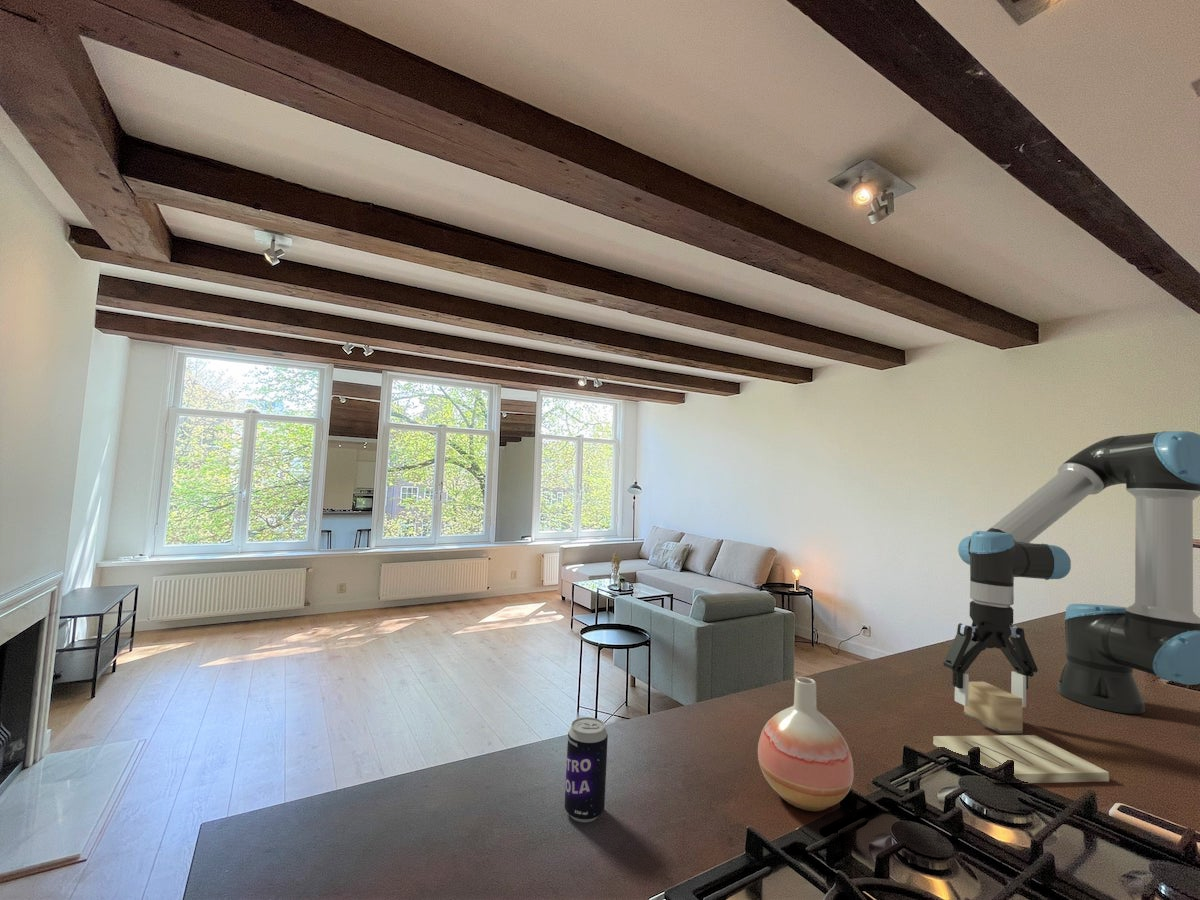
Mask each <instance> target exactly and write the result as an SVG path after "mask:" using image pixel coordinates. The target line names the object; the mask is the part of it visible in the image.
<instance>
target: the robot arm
mask: <svg viewBox="0 0 1200 900" xmlns="http://www.w3.org/2000/svg"><path fill="white" fill-rule="evenodd" d="M1121 484H1125V486H1126V487H1125V488H1126V491H1127V492H1128V493H1129V494H1131V495H1132V496H1133V497H1134V498H1135V529H1134V530H1135V541H1134V542H1135V543H1134V544H1135V547H1134V548H1135V549H1134V553H1135V560H1134V561H1135V563H1134V565H1135V567H1134V568H1135V570H1134V571H1135V574H1134V575H1135V576H1134V579H1135V581H1134V583H1135V584H1134V589H1135V591H1134V594H1135V595H1134V603H1133V604H1132V605H1129V606H1128V607H1125V606H1120V605H1117V606H1116V605H1105V604H1091V603H1090V604H1089V603H1071V604H1068V605H1067V606H1066V609H1065V617H1064V628H1065V630H1064V631H1065V633H1064V634H1065V650H1066V651H1065V652H1066V653H1065V655H1066V656H1065V657H1066V661H1065V665H1064V667H1063V668H1062V671H1061V674H1060V676H1059V679H1058V681H1057V693H1058V694H1060V695H1061V696H1063V697H1064V698H1067V699H1068V700H1071V701H1073V702H1077V703H1079V704H1082V705H1085V706H1089V707H1093V708H1095V709H1100V710H1104V711H1105V710H1106V711H1108V712H1109V711H1110V712H1115V713H1122V714H1130V715H1138V714H1139V715H1140V714H1144V713H1145V712H1146V707H1145V701H1144V698H1143V697H1142V694H1141V692H1140V688H1139V686H1138V684H1137V682H1136V680H1135V677H1134V671H1133V670H1137V671H1140V672H1143V673H1146V674H1149V675H1153V676H1155V677H1157V678H1160V679H1163V680H1165V681H1172V682H1175V683H1179V684H1182V685H1186V686H1187V685H1189V686H1190V685H1191V686H1193V685H1194V686H1195V685H1199V684H1200V617H1199V616H1198V615H1197V614H1196V613H1195V612H1194V564H1193V563H1194V544H1193V543H1194V532H1193V531H1194V529H1193V528H1194V523H1193V519H1194V515H1193V514H1194V513H1193V512H1194V511H1193V510H1194V509H1193V508H1194V506H1193V501H1194V500H1195V499H1197V498H1198V497H1200V434H1199V433H1196V432H1193V431H1187V430H1175V431H1170V430H1169V431H1168V430H1167V431H1165V430H1163V431H1160V432H1157V431H1156V432H1150V433H1149V432H1147V433H1141V434H1130V435H1128V434H1127V435H1118V436H1117V435H1115V436H1111V437H1108V438H1104V439H1101V440H1099V441H1097V442H1094V443H1092V444H1091V445H1089V446H1087V447H1085V448H1083V449H1082V450H1080V451H1079V452H1077V453H1076V454H1074V455H1073V456H1071V457H1070V458H1068V459H1067V460H1066V461H1064V462H1063V463H1062V464H1061V465H1060V466H1059V467H1058V468H1057V474H1056V475H1054V476H1053V477H1052V478H1051V479H1049V480H1048V481H1047V482H1046V483H1044V484H1043V485H1042V486H1041V487H1040V488H1038V489H1037V490H1036V491H1034V492H1033V493H1032V494H1031V495H1029V496H1028V497H1027V498H1026V499H1025V500H1024V501H1022V502H1021V503H1020V504H1018V505H1017V506H1016V507H1014V509H1012V510H1011V511H1010V512H1009V513H1007V515H1005V516H1004V517H1002V518H1001V519H1000V520H999V521H997V522H996V523H995V524H994V525H992V526H991V527H989V528H988V530H985V531H983V530H976V531H973V532H972V534H971V535H970V536H966V537H964V538H962V539H961V541H960V542H959V544H958V549H957V551H958V555H959V557H960V558H961V560H962V561H963V562H964V563H965V564H967V565H968V566H969V568H970V569H969V571H970V572H969V575H970V577H969V582H970V583H969V598H970V599H971V601H969V618H970V619H971V621H972V623H971V625H967V624H964V623H958V624H957V629H956V634H955V636H954V638H953V641H952V643H951V646H950V647H949V650H948V652H947V654H946V656H945V658H944V661H943V663H942V664H943V666H945V667H946V668H948V669H951V671H952V686H953V687H954V702H956V703H957V704H960V705H962V706H963V707H964V706H968V694H969V682H970V681H969V680H970V679H969V678H970V675H969V674H968V673H966V671H967V670H968V669H969V668H970V666H971V665H972V664H973V662H974V661H975V660H976V659H977V658H978V656H979V655H980V653H981V652H982V651H985V650H986V649H994V648H995V649H999V650H1000V651H1001V652H1002V654H1003V655H1004V657H1005V658H1006V659H1007V660H1008V662H1009V663H1010V665H1011V667H1012V668H1013V669H1014V670H1013V671H1012V670H1011V676H1010V677H1011V681H1010V683H1011V684H1010V685H1011V688H1010V693H1011V694H1013V695H1016V696H1018V697H1020V698H1022V708H1027V691H1028V688H1029V677H1031V678H1032V677H1034V675H1035V673H1037V672H1038V670H1039V669H1038V667H1037V664H1036V662H1035V659H1034V657H1033V654H1032V652H1031V650H1030V648H1029V645H1028V643H1027V641H1026V636H1025V630H1024V628H1022V627H1018V626H1015V625H1013V624H1014V609H1013V607H1012V606H1013V605H1014V601H1015V599H1014V598H1015V597H1014V596H1015V595H1014V593H1015V592H1014V588H1015V587H1014V585H1015V584H1014V582H1015V581H1014V580H1015V578H1026V579H1027V578H1028V579H1041V580H1042V579H1043V580H1045V581H1048V580H1061V579H1064V578H1065V577H1066V576H1068V575H1069V573H1070V571H1071V568H1072V560H1071V558H1070V555H1069V554H1068V552H1067V551H1066V550H1064V549H1063V548H1062V547H1060V546H1057V545H1053V544H1048V543H1033V542H1032V541H1033V540H1034V539H1036V538H1037V537H1038V536H1039V535H1041V534H1042V533H1043V532H1045V531H1046V530H1047V529H1048V528H1050V527H1051V526H1053V524H1055V523H1056V522H1057V521H1058V520H1059V519H1061V518H1062V517H1063V516H1064V515H1066V514H1067V513H1068V512H1070V511H1071V510H1072V509H1073V508H1074V507H1076V506H1078V504H1079V503H1081V502H1082V501H1083V500H1084V499H1086V498H1087V497H1088V496H1089V495H1090V496H1091V495H1097V494H1100V493H1101V492H1102V491H1103V490H1105V489H1106V488H1109V487H1111V486H1115V485H1121Z"/></svg>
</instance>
